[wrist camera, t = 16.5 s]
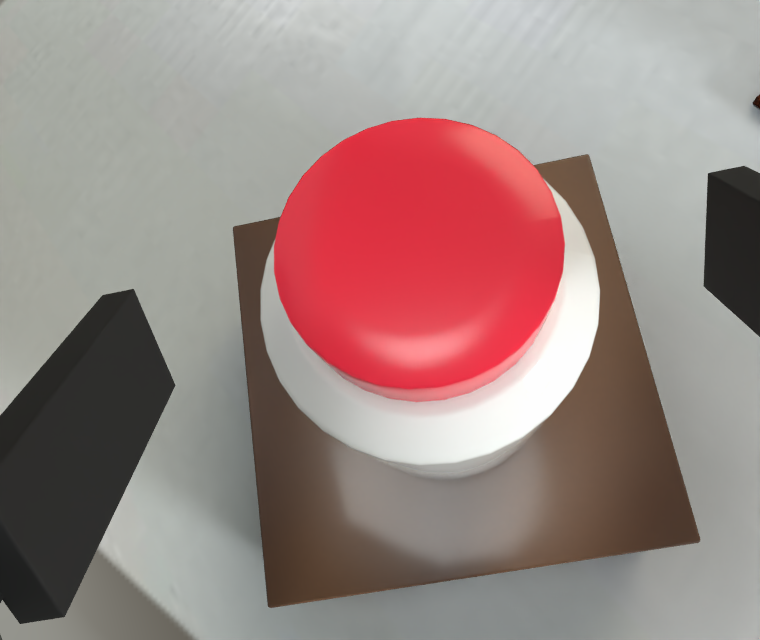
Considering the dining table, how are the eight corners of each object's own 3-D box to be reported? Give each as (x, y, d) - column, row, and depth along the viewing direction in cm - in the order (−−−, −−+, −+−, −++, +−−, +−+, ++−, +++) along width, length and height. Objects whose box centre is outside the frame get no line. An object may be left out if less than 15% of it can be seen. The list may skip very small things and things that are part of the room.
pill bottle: (319, 285, 24) (202, 112, 13) (525, 246, 23) (573, 30, 13) (347, 497, 21) (231, 488, 11) (577, 460, 21) (686, 413, 10)
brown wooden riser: (310, 586, 26) (267, 608, 21) (275, 278, 31) (231, 225, 25) (649, 534, 25) (702, 542, 20) (565, 220, 30) (589, 152, 24)
